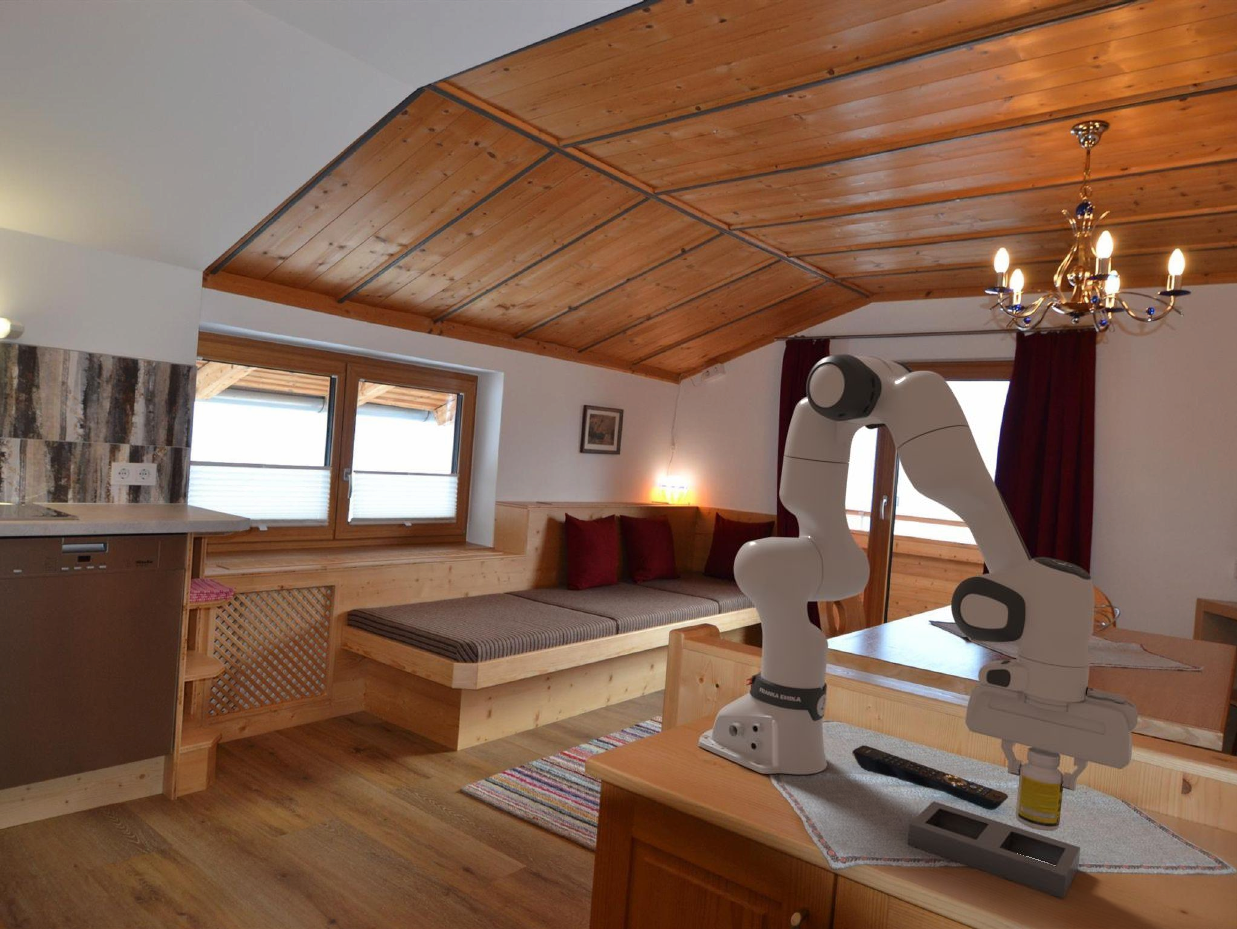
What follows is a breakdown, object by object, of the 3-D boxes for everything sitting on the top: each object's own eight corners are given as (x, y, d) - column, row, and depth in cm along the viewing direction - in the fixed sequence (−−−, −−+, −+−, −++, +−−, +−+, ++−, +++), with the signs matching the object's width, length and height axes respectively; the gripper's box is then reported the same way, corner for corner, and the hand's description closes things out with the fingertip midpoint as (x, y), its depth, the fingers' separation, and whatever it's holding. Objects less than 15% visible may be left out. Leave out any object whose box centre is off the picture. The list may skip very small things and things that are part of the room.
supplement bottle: (1064, 835, 116) (1071, 761, 115) (1021, 828, 117) (1027, 755, 116) (1052, 818, 121) (1059, 748, 121) (1010, 812, 122) (1017, 742, 122)
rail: (907, 844, 124) (909, 823, 124) (931, 820, 133) (933, 801, 132) (1063, 899, 112) (1065, 876, 112) (1078, 868, 121) (1080, 847, 121)
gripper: (1142, 693, 114) (1132, 798, 115) (979, 660, 127) (970, 754, 127) (1136, 703, 109) (1125, 812, 110) (967, 667, 122) (958, 765, 122)
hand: (1041, 781), depth 119 cm, fingers closed on supplement bottle, 5 cm apart
